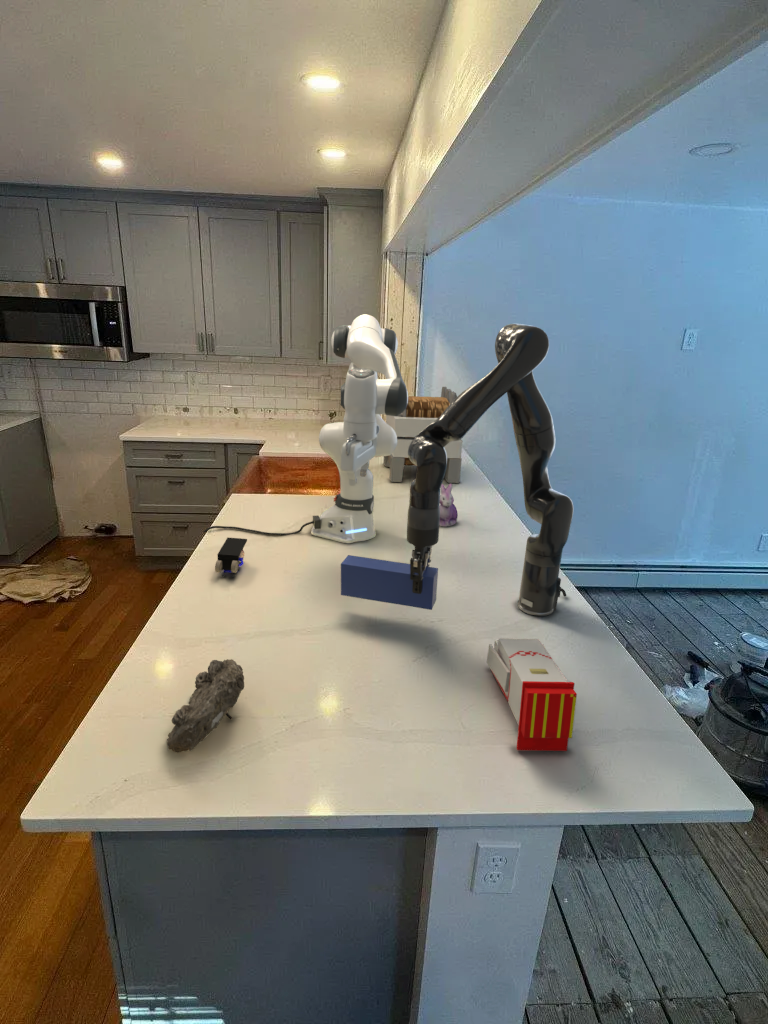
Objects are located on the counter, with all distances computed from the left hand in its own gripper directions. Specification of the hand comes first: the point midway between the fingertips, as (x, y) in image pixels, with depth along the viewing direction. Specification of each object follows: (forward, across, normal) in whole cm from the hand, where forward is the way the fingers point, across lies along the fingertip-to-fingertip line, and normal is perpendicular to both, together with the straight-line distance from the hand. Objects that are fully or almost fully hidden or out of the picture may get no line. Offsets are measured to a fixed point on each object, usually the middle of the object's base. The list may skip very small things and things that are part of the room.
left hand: (358, 480), depth 157 cm
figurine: (+30, +54, -17) cm, 64 cm away
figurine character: (+30, -9, +35) cm, 47 cm away
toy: (+30, -43, -50) cm, 72 cm away
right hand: (+18, -21, -24) cm, 37 cm away
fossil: (+29, -67, +6) cm, 73 cm away
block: (+23, -21, -16) cm, 35 cm away
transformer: (+30, +117, +7) cm, 121 cm away
